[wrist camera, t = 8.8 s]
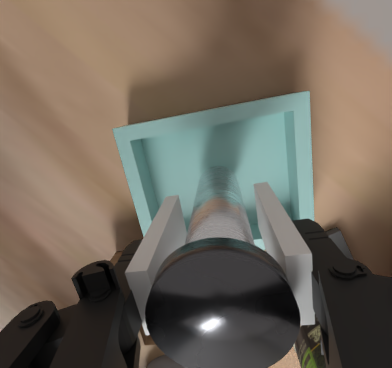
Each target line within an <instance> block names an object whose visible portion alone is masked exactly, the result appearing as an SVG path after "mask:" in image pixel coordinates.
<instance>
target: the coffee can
mask: <svg viewBox="0 0 392 368" xmlns="http://www.w3.org/2000/svg"><path fill="white" fill-rule="evenodd" d="M314 313H315V312H314ZM293 346H294V349H295V351H296V353H297V356H298V359H299V362H300V365H301V368H326V363H325V357H324V355H321V334H320V323H319V321H318V318H317V316H316V314H315V324H314V325H300V330H299V334H298V337H297V339H296V342H295V343H294V345H293Z"/></svg>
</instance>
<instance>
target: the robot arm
mask: <svg viewBox="0 0 392 368" xmlns="http://www.w3.org/2000/svg"><path fill="white" fill-rule="evenodd" d="M253 185H254V194H255V202H256V210H257V219H258V227H259V230H260V233H261V236H262V239H263V242H264V246H265V249H266V252H267V253H268V254H269V255H271V256H272V257H273V258H274V259H275V260H276V261H277V262H278V263H279V265H280V266H281V267H282V269H283V271H284V273H285V274H286V277H287V279H288V281H289V284H290V286H291V289H292V291H293V294H294V297H295V299H296V302H297V304H298V307H299V311H300V317H301V321H300V325H314V324H315V314H316V316H317V318H318V321H319V323H320V334H321V355H324V357H325V363H326V368H392V277H385V276H380V275H375V274H372V272H371V271H370V270H369V269H368V268H367V267H366V266H365V265H363V264H361V263H360V262H358V261H355V260H352V259H349V258H346V256H345V255H344V254H343V253H342V251H341V250H340V249H339V248H338V247H337V245H336V244H335V243H334V242H333V241H332V239H331V238H329V236H328V235H327V233H326V232H324V230H323V229H322V227H321V226H320V225H319V224H318V223H316V222H314V221H312V220H310V219H309V218H308V219H300V220H292V221H291V219H290V217H289V216H288V214H287V213H286V211H285V209H284V208H283V206H282V205H281V203H280V201H279V200H278V198H277V197H276V195H275V193H274V192H273V190H272V189H271V187H270V185H269V184H268V182H262V183H256V184H253ZM186 236H187V231H186V226H185V222H184V217H183V213H182V209H181V204H180V200H179V195H174V196H167V197H165V199H164V201H163V203H162V205H161V206H160V208H159V210H158V212H157V214H156V216H155V218H154V219H153V221H152V223H151V225H150V227H149V229H148V230H147V232H146V234H145V236H144V238H143V240H136V241H133V242H132V243H131V244H129V245H128V246H127V247H126V248H125V250H124V251H123V253H122V255H121V256H120V258H119V259H118V262H117V263H116V264H115V266H114V265H113V264H112V263H111V262H110V261H106V260H103V261H97V262H94V263H91V264H89V265H87V266H85V267H83V268H82V269H80V270H79V271H78V272H76V273H75V275H74V276H73V277H72V278H71V279H72V281H73V284H74V286H75V288H76V291H77V293H78V295H79V298H80V300H79V302H78V304H76V305H73V306H70V307H67V308H64V309H61V310H58V311H57V309H56V306H55V304H54V303H53V302H52V301H42V302H38V303H35V304H34V305H31V306H29V307H27V308H26V309H24V310H23V311H21V312H20V313H19V314H18V315H17V316H15V317H14V318H13V319H12V320H11V321H10V322H9V323H8V324H7V325H6V327H5V328H4V329H3V330H2V331H1V332H0V368H139V360H140V350H141V345H140V340H139V337H138V333H139V330H140V327H141V324H142V326H143V329H144V332H145V335H150V334H149V331H148V329H147V325H146V321H145V307H146V302H147V299H148V296H149V293H150V290H151V287H152V285H153V282H154V279H155V276H156V273H157V271H158V269H159V267H160V266H161V264H162V263H163V261H164V260H165V259H166V258H167V257H168V256H169V255H170V254H171V253H172V252H174V251H175V250H176V249H178V248H180V247H181V246H183V245H185V241H186ZM314 312H315V313H314Z"/></svg>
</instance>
